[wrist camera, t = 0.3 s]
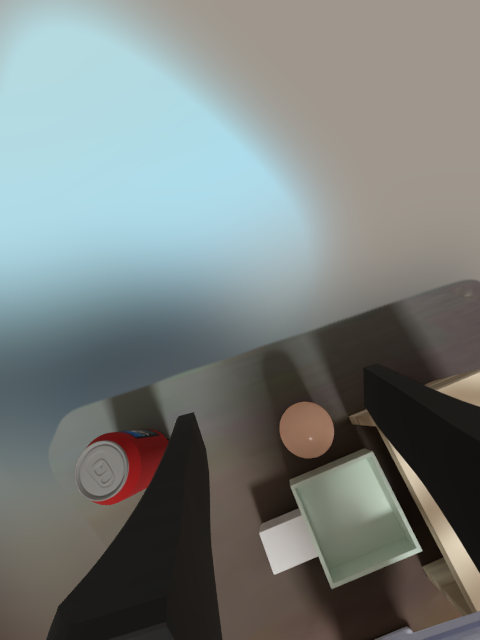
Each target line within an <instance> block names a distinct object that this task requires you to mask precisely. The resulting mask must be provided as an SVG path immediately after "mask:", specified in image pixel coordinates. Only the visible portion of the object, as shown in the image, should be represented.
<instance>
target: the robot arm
mask: <svg viewBox="0 0 480 640" xmlns="http://www.w3.org/2000/svg"><path fill="white" fill-rule="evenodd" d="M364 405H365V407H366V409H367V411H368V412H369V414H370V416H371V417H372V419H373V420H374V422H375V423H376V425H377V427H378V428H379V429H380V430H381V432H382V433H383V434H384V435H385V437H386V438H387V439H388V440H389V442H390V443H391V444H392V445H393V447H394V448H395V449H396V450H397V452H398V453H399V454H400V455H401V456H402V458H403V459H404V460H405V461H406V463H407V464H408V465H409V466H410V467H411V469H412V470H413V471H414V472H415V474H416V475H417V476H418V478H419V479H420V480H421V482H422V483H423V484H424V486H425V487H426V489H427V490H428V492H429V493H430V495H431V496H432V498H433V499H434V501H435V502H436V504H437V505H438V507H439V508H440V510H441V511H442V513H443V515H444V516H445V518H446V519H447V521H448V522H449V524H450V526H451V527H452V529H453V530H454V532H455V533H456V535H457V537H458V538H459V540H460V542H461V543H462V545H463V547H464V548H465V550H466V551H467V553H468V555H469V556H470V558H471V560H472V561H473V563H474V565H475V566H476V568H477V570H478V572H479V573H480V407H479V406H476V405H473V404H470V403H467V402H465V401H462V400H459V399H456V398H454V397H451V396H449V395H446V394H444V393H441V392H439V391H437V390H434V389H432V388H430V387H427V386H425V385H423V384H421V383H418V382H416V381H414V380H412V379H410V378H407V377H405V376H403V375H401V374H399V373H397V372H395V371H393V370H390V369H388V368H386V367H384V366H382V365H379V364H374V365H371V366H367V367H364ZM46 640H222V633H221V625H220V617H219V609H218V601H217V593H216V584H215V576H214V566H213V557H212V548H211V533H210V487H209V469H208V461H207V454H206V448H205V445H204V442H203V439H202V436H201V433H200V430H199V427H198V424H197V421H196V417H195V414H194V412H193V413H189V414H185V415H182V416H179V417H178V418H177V420H176V423H175V426H174V429H173V432H172V435H171V437H170V440H169V443H168V445H167V447H166V450H165V452H164V454H163V457H162V459H161V461H160V463H159V466H158V468H157V470H156V472H155V474H154V476H153V478H152V480H151V482H150V484H149V485H148V487H147V489H146V491H145V493H144V494H143V496H142V498H141V500H140V501H139V503H138V505H137V506H136V508H135V510H134V511H133V513H132V514H131V516H130V517H129V519H128V520H127V522H126V523H125V525H124V526H123V528H122V529H121V531H120V532H119V534H118V535H117V536H116V538H115V539H114V541H113V542H112V543H111V544H110V546H109V547H108V548H107V550H106V551H105V552H104V554H103V555H102V556H101V558H100V559H99V560H98V561H97V563H96V564H95V565H94V566H93V568H92V569H91V570H90V571H89V573H88V574H87V575H86V576H85V577H84V578H83V579H82V581H81V582H80V583H79V584H78V585H77V586H76V587H75V589H74V590H73V591H72V592H71V593H70V594H69V595H68V596H67V598H66V599H65V600H64V601H63V602H62V603H61V604H60V605H59V606H58V609H57V612H56V615H55V617H54V620H53V622H52V625H51V627H50V630H49V633H48V636H47V639H46ZM375 640H480V611H478V612H475V613H472V614H469V615H466V616H462V617H459V618H456V619H453V620H450V621H447V622H444V623H441V624H438V625H435V626H432V627H429V628H426V629H423V630H420V631H417V632H414V633H413V632H412V630H411V629H410V628H409V627H403V628H401V629H399V630H396V631H394V632H391V633H389V634H387V635H384V636H382V637H380V638H377V639H375Z"/></svg>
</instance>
